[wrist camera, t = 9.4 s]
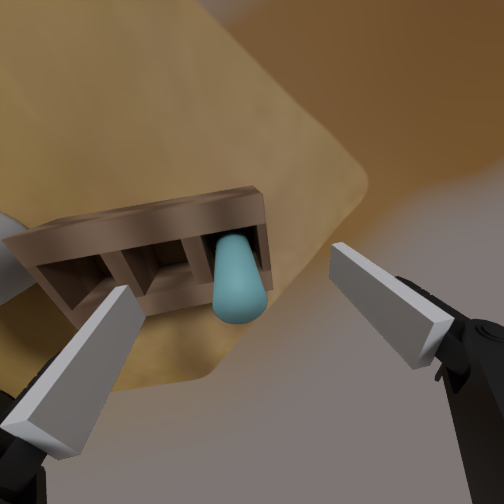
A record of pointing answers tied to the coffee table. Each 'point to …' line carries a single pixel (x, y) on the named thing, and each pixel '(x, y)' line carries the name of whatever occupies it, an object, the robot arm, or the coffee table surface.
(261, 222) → the hole block
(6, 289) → the mug
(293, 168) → the coffee table surface
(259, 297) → the peg
